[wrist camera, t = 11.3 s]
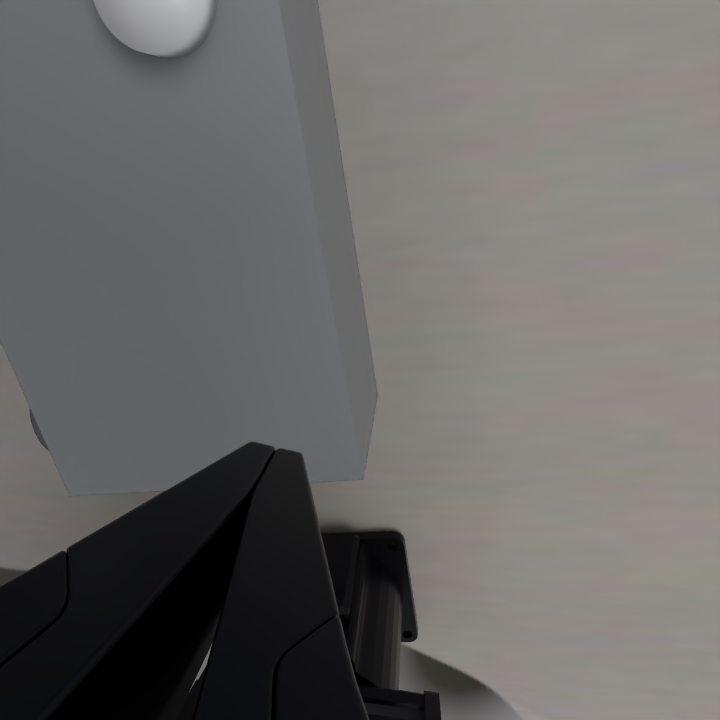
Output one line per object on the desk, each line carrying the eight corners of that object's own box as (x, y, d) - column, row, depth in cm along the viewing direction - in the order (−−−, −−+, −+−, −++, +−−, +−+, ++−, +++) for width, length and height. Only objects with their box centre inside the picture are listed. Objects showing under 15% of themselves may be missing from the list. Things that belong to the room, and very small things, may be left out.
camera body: (377, 395, 21) (360, 496, 16) (113, 416, 23) (11, 514, 17) (286, -202, 14) (194, -415, 9) (-84, -102, 16) (-363, -223, 10)
